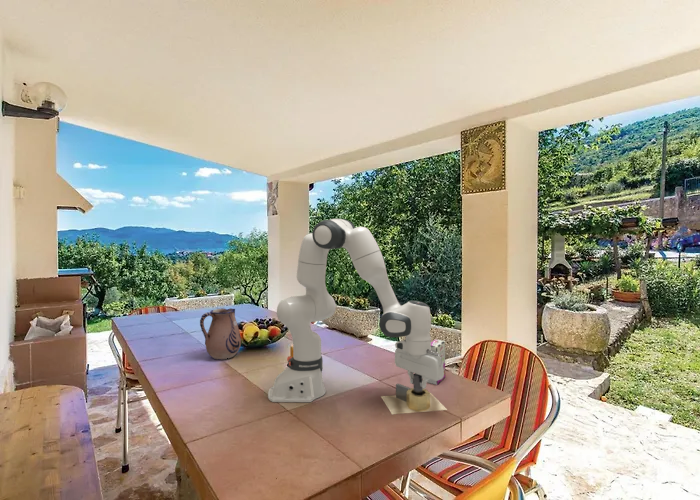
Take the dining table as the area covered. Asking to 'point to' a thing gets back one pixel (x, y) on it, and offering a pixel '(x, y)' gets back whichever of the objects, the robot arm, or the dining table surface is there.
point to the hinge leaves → (413, 398)
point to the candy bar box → (440, 348)
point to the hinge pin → (417, 384)
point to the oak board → (401, 406)
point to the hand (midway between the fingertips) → (418, 385)
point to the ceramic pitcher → (221, 333)
